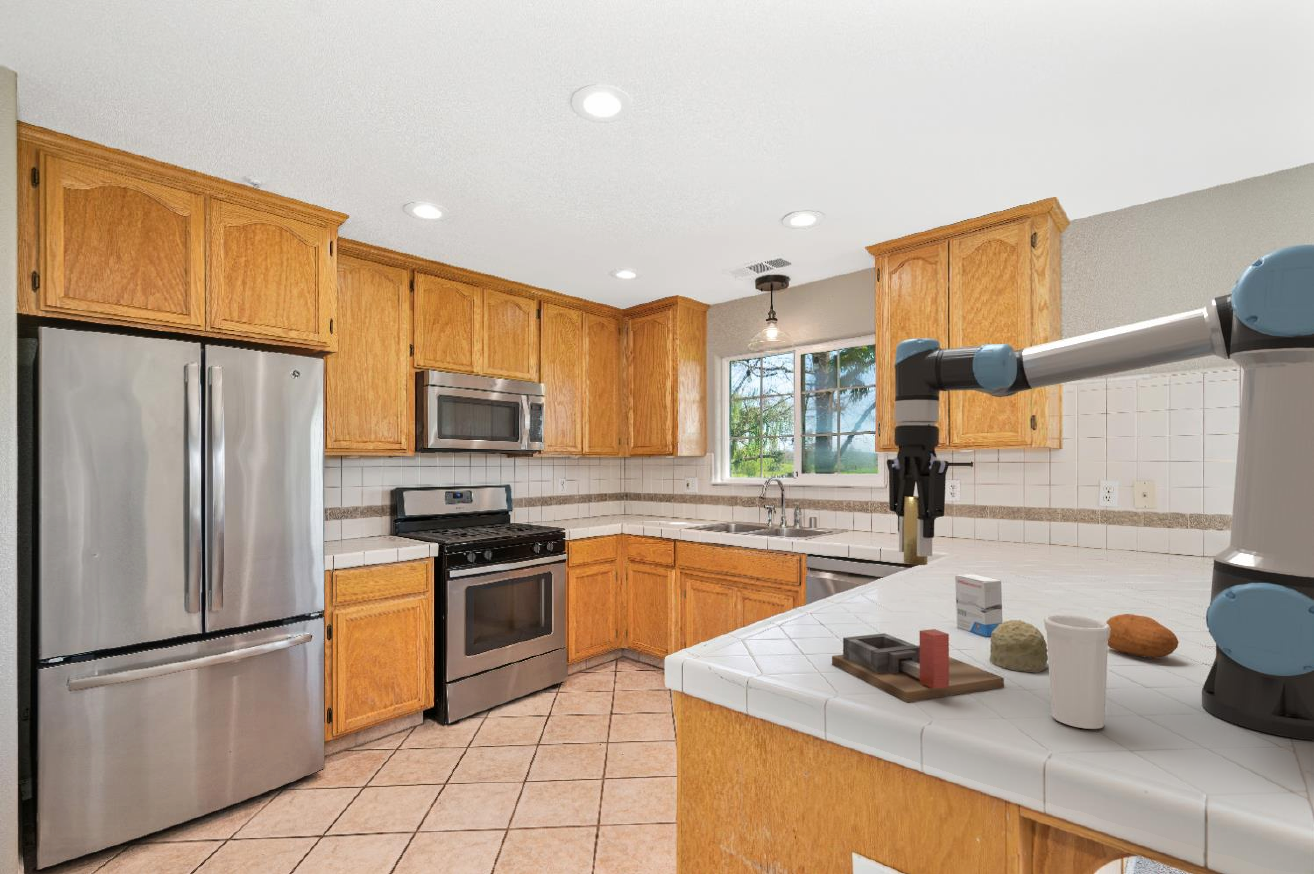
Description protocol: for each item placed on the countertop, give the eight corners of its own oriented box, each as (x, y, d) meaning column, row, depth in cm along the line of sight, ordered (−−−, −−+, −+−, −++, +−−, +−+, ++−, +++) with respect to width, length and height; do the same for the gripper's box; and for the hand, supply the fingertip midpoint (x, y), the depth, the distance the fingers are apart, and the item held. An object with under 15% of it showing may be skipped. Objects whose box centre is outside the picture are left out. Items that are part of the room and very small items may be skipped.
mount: (1003, 686, 105) (1003, 656, 105) (906, 702, 98) (906, 669, 98) (919, 653, 123) (919, 627, 123) (832, 664, 116) (832, 636, 116)
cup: (1031, 711, 95) (1030, 614, 95) (1083, 710, 95) (1082, 614, 96) (1070, 735, 87) (1069, 629, 87) (1127, 734, 87) (1125, 628, 88)
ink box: (1004, 635, 135) (1003, 580, 136) (985, 637, 134) (984, 581, 134) (972, 625, 143) (972, 573, 144) (954, 627, 142) (954, 574, 142)
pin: (949, 686, 100) (948, 633, 100) (933, 688, 99) (933, 635, 99) (903, 666, 109) (903, 618, 109) (889, 668, 108) (889, 619, 108)
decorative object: (1040, 695, 111) (1072, 647, 111) (988, 659, 113) (1019, 613, 113) (1018, 681, 120) (1047, 638, 120) (970, 649, 122) (999, 605, 122)
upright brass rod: (932, 564, 114) (933, 497, 114) (914, 565, 113) (914, 497, 113) (916, 560, 118) (917, 495, 118) (898, 561, 117) (899, 496, 117)
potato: (1130, 645, 129) (1130, 608, 129) (1190, 663, 118) (1190, 622, 118) (1095, 649, 126) (1095, 611, 126) (1153, 667, 115) (1153, 625, 116)
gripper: (969, 424, 109) (968, 560, 109) (901, 426, 125) (900, 546, 125) (933, 422, 107) (932, 562, 106) (869, 425, 123) (868, 547, 122)
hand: (915, 553), depth 115 cm, fingers closed on upright brass rod, 4 cm apart
